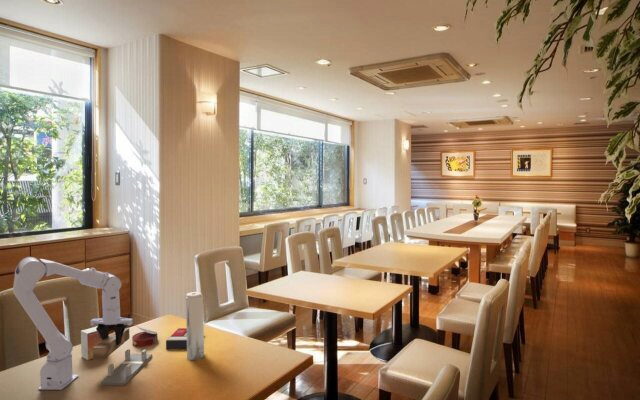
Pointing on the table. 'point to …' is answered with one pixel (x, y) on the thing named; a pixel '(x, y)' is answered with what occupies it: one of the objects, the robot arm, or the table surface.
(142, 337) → the canned food
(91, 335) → the small box
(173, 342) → the black and red box
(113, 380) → the base plate
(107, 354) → the banded tan post
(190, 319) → the paper towel roll
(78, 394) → the table surface
